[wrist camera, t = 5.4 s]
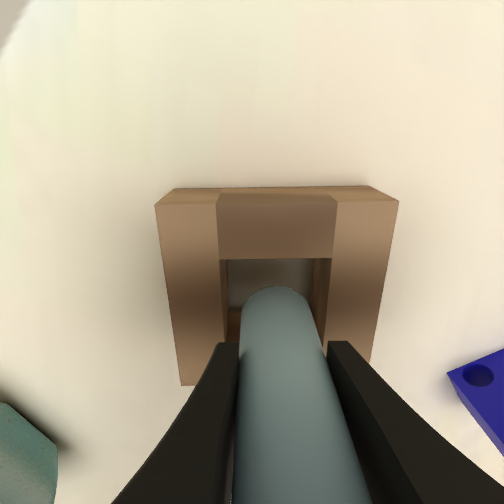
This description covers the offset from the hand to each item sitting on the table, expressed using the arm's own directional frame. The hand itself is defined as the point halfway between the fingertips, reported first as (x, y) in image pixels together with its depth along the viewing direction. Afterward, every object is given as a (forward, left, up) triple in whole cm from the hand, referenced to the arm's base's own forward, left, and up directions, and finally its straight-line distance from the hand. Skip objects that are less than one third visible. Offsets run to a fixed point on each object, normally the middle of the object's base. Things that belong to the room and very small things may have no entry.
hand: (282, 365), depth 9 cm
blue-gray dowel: (0, 0, -3) cm, 3 cm away
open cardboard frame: (0, 0, -6) cm, 6 cm away
